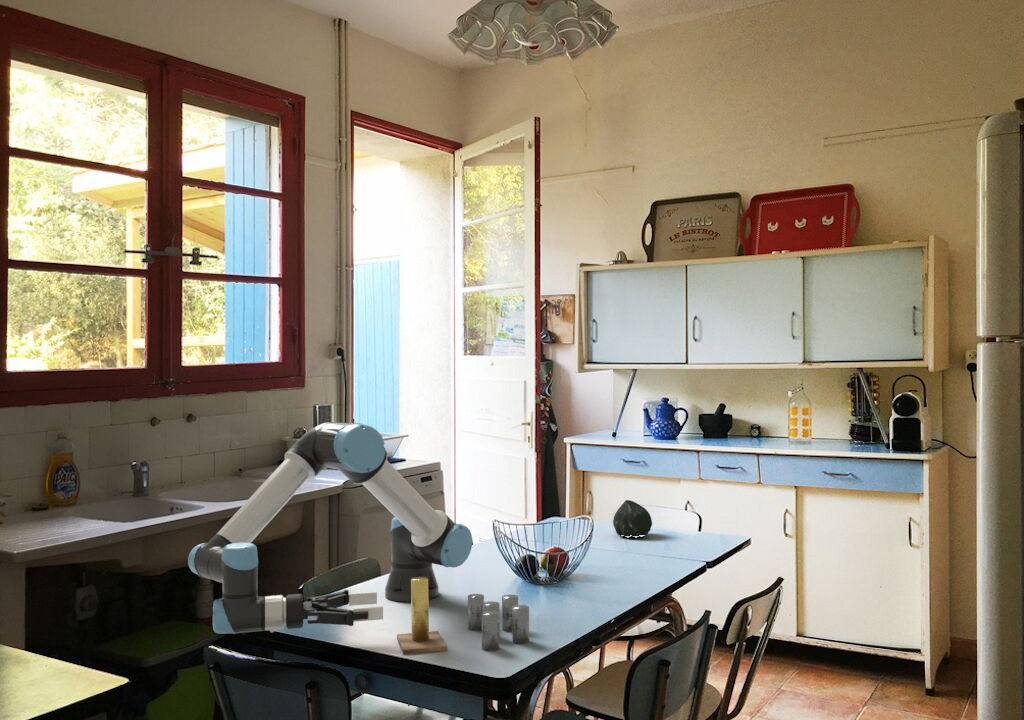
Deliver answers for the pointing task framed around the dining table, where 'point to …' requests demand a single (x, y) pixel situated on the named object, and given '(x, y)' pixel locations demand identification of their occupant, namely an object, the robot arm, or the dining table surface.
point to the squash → (632, 520)
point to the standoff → (420, 609)
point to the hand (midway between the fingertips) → (379, 605)
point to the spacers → (498, 620)
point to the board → (421, 643)
